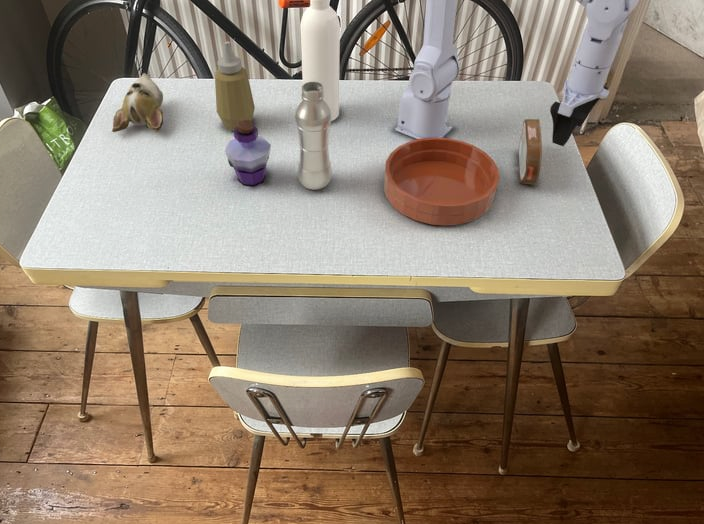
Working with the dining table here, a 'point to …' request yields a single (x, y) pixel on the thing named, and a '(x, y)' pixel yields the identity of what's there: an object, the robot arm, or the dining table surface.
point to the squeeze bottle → (232, 90)
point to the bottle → (321, 50)
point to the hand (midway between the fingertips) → (567, 133)
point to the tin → (530, 151)
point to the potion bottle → (248, 154)
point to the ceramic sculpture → (140, 106)
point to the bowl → (440, 181)
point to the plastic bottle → (313, 137)
